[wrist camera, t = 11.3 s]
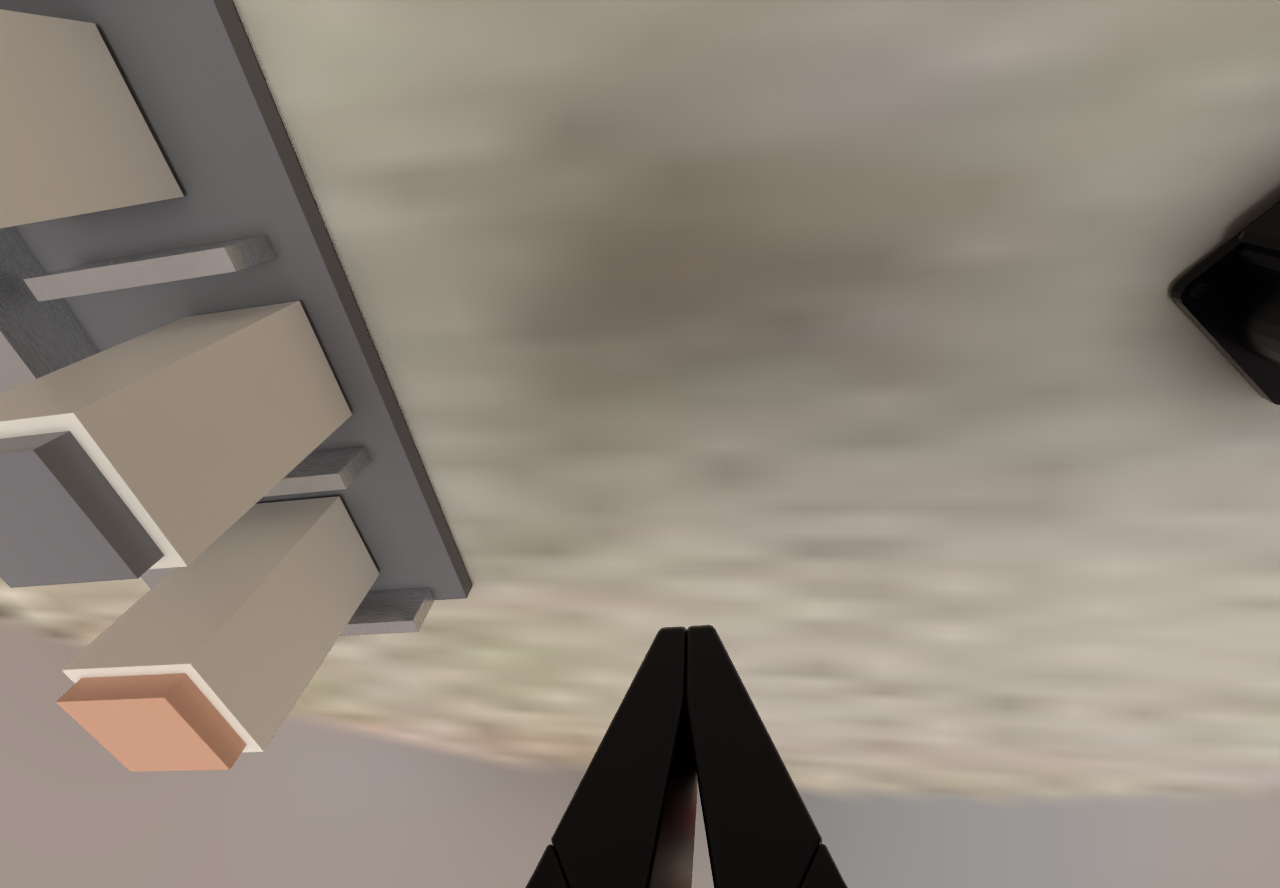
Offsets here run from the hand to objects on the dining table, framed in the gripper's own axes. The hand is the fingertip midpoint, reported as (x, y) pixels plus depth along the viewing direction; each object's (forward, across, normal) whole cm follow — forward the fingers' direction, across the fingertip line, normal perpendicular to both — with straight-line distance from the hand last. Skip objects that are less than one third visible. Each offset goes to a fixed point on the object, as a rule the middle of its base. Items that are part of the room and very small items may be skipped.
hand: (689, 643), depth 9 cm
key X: (+13, +15, -1) cm, 20 cm away
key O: (+13, +17, +7) cm, 22 cm away
